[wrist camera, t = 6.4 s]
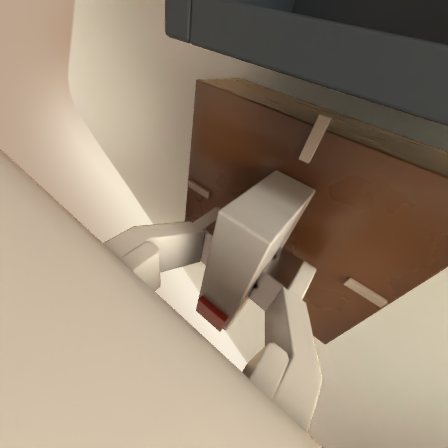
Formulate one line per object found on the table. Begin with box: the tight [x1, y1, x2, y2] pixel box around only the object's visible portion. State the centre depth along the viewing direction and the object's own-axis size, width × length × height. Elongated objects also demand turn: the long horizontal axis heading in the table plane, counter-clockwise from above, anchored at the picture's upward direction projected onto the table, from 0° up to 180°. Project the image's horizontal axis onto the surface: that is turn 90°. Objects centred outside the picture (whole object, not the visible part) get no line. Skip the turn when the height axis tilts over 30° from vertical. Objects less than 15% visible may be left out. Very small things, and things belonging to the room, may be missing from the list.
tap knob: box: [196, 170, 316, 331], centre depth 8 cm, size 6×2×4 cm, turn 165°
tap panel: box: [185, 78, 448, 344], centre depth 10 cm, size 10×10×3 cm
